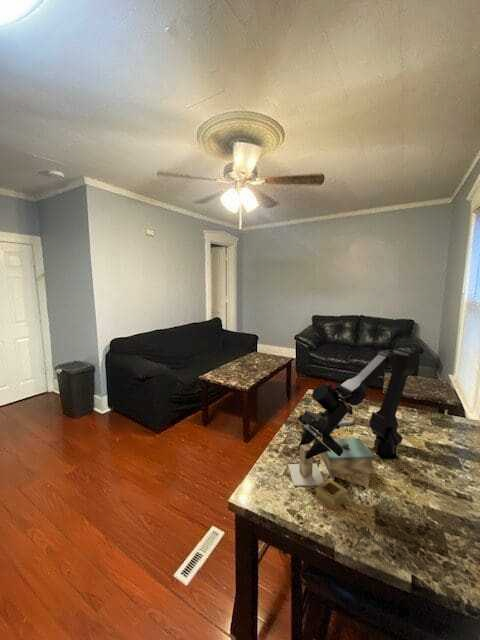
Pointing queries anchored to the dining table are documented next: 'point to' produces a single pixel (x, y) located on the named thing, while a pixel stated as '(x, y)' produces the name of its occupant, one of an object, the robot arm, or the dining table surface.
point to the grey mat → (307, 481)
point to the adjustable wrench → (341, 423)
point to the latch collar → (328, 498)
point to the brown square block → (305, 461)
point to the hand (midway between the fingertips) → (302, 454)
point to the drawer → (349, 458)
